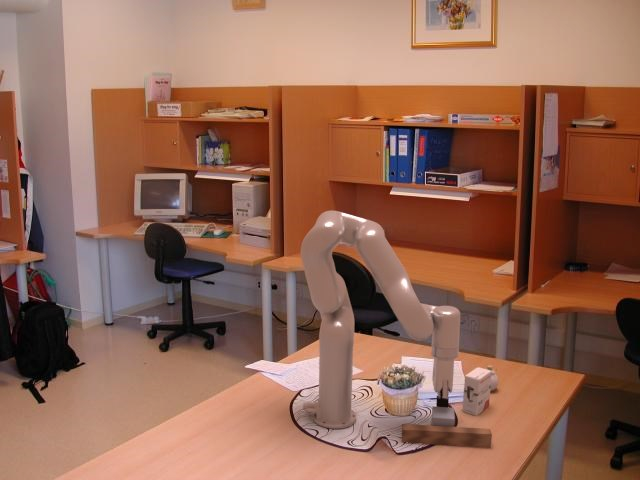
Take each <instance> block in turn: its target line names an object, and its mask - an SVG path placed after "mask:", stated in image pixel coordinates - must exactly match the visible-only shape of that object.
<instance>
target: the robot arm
mask: <svg viewBox="0 0 640 480" xmlns="http://www.w3.org/2000/svg"><path fill="white" fill-rule="evenodd" d="M340 243H342V244H346V245H350V246H354V248H355V250H356V253H358V255H359V256H360V258H361V260H362V262H363V263H364V264H365V266H366V267H367V269H368V270H369V272H370V273H371V275H372V277H373V278H374V280H375V282H376V284H378V286H379V288H380V290H381V293H382V294H383V296H384V298H385V299H386V301H387V303H388V304H389V306H390V308H391V309H392V312H393V313H394V315H395V317H396V319H397V320H398V322H399V323H400V325H401V326H402V328H403V329H404V331H405V332H406V333H407V335H408V336H409V337H410V338H411V339H413V340H415V341H420V342H421V341H422V342H423V341H425V340H426V341H427V340H428V339H429V338H430V337H431V348H430V349H431V351H430V352H431V353H430V354H431V356H432V357H433V364H432V365H433V367H432V378H431V379H432V380H431V381H432V385H433V386H432V387H433V391H434V392H435V393H437V395H436V404H435V405H436V406H435V407H447V408H449V400H450V398H449V394H450V393H452V392H453V387H454V373H455V372H454V371H455V369H454V368H455V360H456V359H458V358H459V351H460V349H459V348H460V333H461V330H460V328H461V312H460V310H459V308H457V307H455V306H452V305H440V306H438V305H431V304H427V303H421V302H420V300H419V298H418V296H417V294H416V292H415V291H414V290H415V289H414V288H413V286H412V282H411V280H410V277H409V273H407V269H406V268H405V267H404V265H403V264H402V262H401V260H400V259H399V258H398V255H397V254H396V252H395V251H394V249H393V247H392V246H391V245H390V243H389V241H388V239H387V238H386V235H385V230H384V228H383V227H382V226H381V225H380V224H379V223H378V222H375V221H373V220H370V219H366V218H364V217H359V216H356V215H353V214H349V213H345V212H342V211H338V210H326V211H324V212H322V213H320V215H319V216H318V217H317V219H316V221H315V223H314V225H313V227H312V228H311V229H310V230H309V231H308V232H307V233H306V234H305V236H304V238H303V240H302V242H301V245H300V258H301V259H300V260H301V263H302V266H303V271H304V275H305V279H306V283H307V287H308V290H309V291H308V292H309V294H310V299H311V303H312V305H313V306H314V308H316V311H318V312H319V313H320V318H321V323H320V327H319V335H318V343H319V344H318V345H319V346H318V347H319V350H318V352H319V354H318V357H319V358H318V359H319V361H318V365H319V366H318V371H319V372H318V399H317V402H316V401H315V402H313V403H312V402H303V403H302V409H303V410H305V411H306V412H305V413H312V420H313V421H314V423H316V424H317V425H318V426H320V427H322V428H326V429H335V430H339V429H345V428H348V427H351V426H352V425H354V424H355V423H356V422H357V414H356V412H355V411H354V410H353V409H352V395H353V393H352V392H353V364H354V363H353V361H354V343H355V342H354V341H355V315H354V312H353V307H352V304H351V300H350V297H349V293H348V292H349V291H348V288H347V286H346V282H345V280H344V278H343V277H342V276H341V275H340V274H339V273H338V272H337V271H336V266H335V265H336V264H335V262H334V261H335V260H334V259H333V250H334V249H335V248H337V246H338V245H339V244H340Z"/></svg>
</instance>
